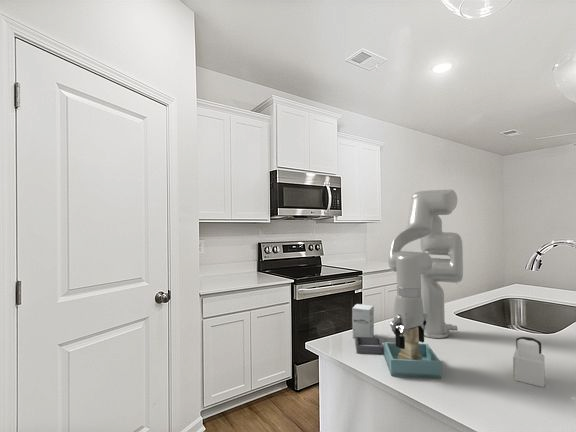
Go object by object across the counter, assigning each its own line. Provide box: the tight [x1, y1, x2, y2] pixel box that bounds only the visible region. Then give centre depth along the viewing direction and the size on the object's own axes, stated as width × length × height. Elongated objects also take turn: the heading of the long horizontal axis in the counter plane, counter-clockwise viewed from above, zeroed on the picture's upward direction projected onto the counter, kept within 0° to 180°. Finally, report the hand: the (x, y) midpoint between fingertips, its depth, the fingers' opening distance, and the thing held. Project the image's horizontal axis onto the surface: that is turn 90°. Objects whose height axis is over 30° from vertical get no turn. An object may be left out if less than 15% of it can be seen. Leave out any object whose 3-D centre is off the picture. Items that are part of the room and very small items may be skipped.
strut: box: [398, 327, 422, 360], centre depth 108 cm, size 5×5×12 cm
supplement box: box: [351, 303, 375, 339], centre depth 135 cm, size 7×7×13 cm
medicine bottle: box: [512, 336, 546, 388], centre depth 98 cm, size 7×7×12 cm
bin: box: [383, 341, 442, 379], centre depth 108 cm, size 15×15×5 cm
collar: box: [354, 336, 384, 355], centre depth 123 cm, size 10×10×2 cm
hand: (410, 344), depth 108 cm, fingers open, 9 cm apart
